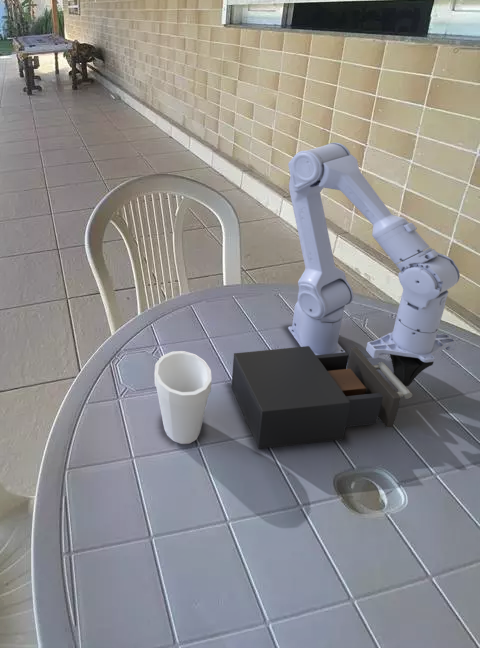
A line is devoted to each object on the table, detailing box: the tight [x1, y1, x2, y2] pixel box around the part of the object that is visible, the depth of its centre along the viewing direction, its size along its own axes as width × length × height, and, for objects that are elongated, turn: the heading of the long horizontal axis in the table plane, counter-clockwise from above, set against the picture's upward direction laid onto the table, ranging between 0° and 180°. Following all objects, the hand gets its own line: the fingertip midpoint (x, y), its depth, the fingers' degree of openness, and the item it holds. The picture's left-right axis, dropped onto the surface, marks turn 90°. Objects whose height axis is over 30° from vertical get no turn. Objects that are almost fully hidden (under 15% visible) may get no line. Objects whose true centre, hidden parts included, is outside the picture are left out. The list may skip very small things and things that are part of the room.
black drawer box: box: [230, 346, 350, 449], centre depth 76 cm, size 15×13×9 cm
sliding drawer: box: [316, 347, 413, 429], centre depth 76 cm, size 18×11×7 cm, turn 94°
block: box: [328, 368, 366, 396], centre depth 76 cm, size 4×4×4 cm
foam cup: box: [154, 350, 212, 445], centre depth 73 cm, size 10×9×13 cm
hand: (401, 381), depth 76 cm, fingers closed
